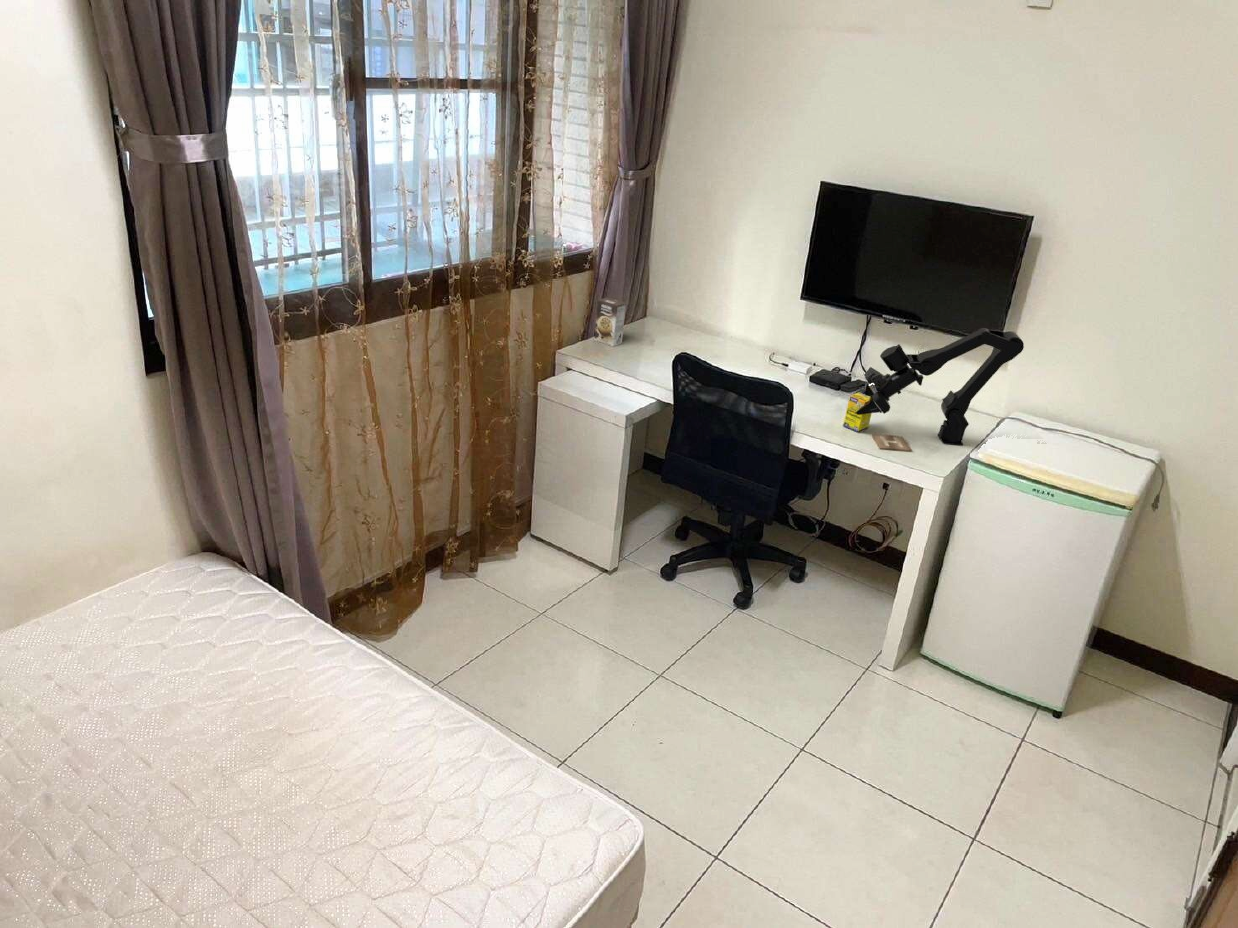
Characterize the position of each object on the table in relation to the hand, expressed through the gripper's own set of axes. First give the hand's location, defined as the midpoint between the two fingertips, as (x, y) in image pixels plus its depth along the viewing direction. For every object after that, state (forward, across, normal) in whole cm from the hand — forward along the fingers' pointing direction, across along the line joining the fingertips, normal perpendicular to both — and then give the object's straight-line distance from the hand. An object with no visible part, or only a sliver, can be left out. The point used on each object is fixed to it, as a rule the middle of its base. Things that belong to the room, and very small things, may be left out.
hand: (855, 408), depth 285 cm
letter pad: (-4, +9, +13) cm, 16 cm away
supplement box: (+4, 0, +6) cm, 7 cm away
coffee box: (+66, -51, -57) cm, 101 cm away
